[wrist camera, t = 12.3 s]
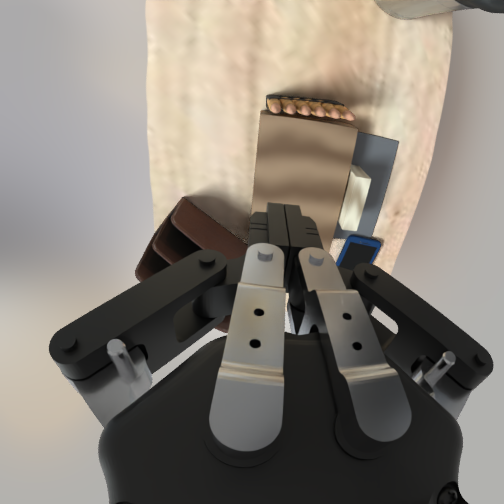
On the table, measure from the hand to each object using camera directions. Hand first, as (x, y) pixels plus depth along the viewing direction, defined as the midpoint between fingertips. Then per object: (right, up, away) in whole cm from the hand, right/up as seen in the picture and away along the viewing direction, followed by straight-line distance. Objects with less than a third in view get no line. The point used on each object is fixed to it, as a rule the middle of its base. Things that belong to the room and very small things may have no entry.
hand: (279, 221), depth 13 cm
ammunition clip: (+6, +21, +25) cm, 33 cm away
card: (+15, +7, +30) cm, 34 cm away
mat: (+18, +9, +32) cm, 38 cm away
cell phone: (+19, -4, +42) cm, 46 cm away
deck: (+6, +10, +32) cm, 34 cm away
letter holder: (-9, 0, +40) cm, 41 cm away
